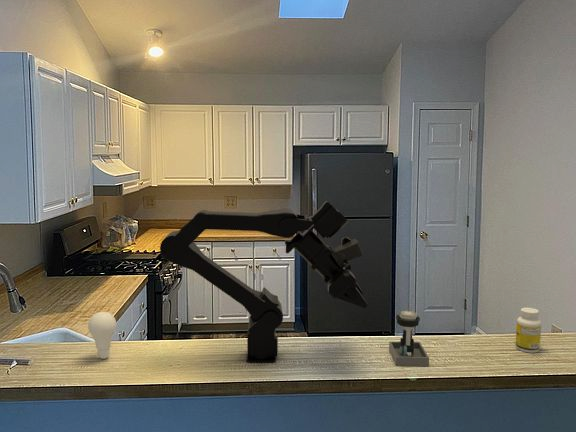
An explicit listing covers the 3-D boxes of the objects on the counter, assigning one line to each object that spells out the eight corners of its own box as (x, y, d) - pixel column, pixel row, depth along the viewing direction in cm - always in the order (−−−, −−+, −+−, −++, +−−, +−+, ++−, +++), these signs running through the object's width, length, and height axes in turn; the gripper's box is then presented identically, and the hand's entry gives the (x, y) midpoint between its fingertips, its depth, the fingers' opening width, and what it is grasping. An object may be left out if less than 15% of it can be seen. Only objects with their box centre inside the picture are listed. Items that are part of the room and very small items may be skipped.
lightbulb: (123, 356, 125) (121, 310, 124) (104, 366, 120) (102, 318, 118) (103, 351, 128) (101, 306, 126) (83, 361, 123) (81, 314, 121)
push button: (421, 362, 122) (422, 319, 120) (397, 361, 122) (398, 318, 121) (416, 350, 128) (418, 309, 127) (393, 349, 129) (395, 309, 127)
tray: (395, 365, 121) (396, 357, 121) (389, 349, 130) (389, 341, 130) (428, 366, 121) (429, 357, 121) (419, 349, 130) (419, 342, 130)
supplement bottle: (518, 343, 135) (520, 305, 133) (541, 348, 132) (544, 309, 130) (512, 349, 130) (515, 310, 129) (536, 355, 127) (540, 315, 126)
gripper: (345, 235, 112) (397, 288, 114) (339, 221, 131) (383, 266, 132) (307, 272, 113) (358, 323, 115) (306, 253, 132) (350, 297, 133)
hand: (364, 300), depth 124 cm, fingers open, 9 cm apart
